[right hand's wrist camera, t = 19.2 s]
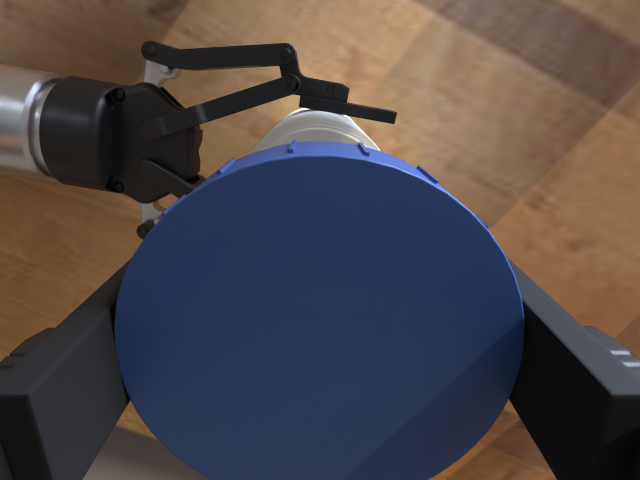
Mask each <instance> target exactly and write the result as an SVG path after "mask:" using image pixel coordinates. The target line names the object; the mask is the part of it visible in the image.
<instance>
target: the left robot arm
mask: <svg viewBox="0 0 640 480" xmlns="http://www.w3.org/2000/svg"><path fill="white" fill-rule="evenodd" d="M141 52H142V55H143V56H144V58H145V59H147V60H146V67H145V73H144V80H143V82H141V83H138V84H136V85H133V86H126V85H120V84H114V83H109V82H103V81H97V80H92V79H86V78H80V77H74V76H70V77H66V78H65V77H64V76H62V75H60V74H58V73H52V72H47V71H41V70H35V69H30V68H24V67H18V66H13V65H7V64H1V63H0V174H5V175H11V176H17V177H23V178H29V179H35V180H41V181H47V182H57V181H59V182H61V183H63V184H66V185H72V186H78V187H84V188H90V189H96V190H102V191H108V192H116V193H123V194H126V195H128V196H130V197H131V198H133V199H134V200H136V201H137V202H140V208H141V218H142V224H141V225H140V226H138V228H137V235H138V236H139V237H140V238H141V239H144V238H145V237H146V235H147V234H148V232H149V231H150V230H151V229H152V228H153V227H154V226H155V225H156V223H157V222H158V221H159V220H160V219H161V218H162V216H161V214H162V212H164V211H165V210H166V209H165V208H163V207H161V206H160V205H159V203H158V200H159V199H161V198H163V197H165V196H167V195H169V194H171V193H172V194H173V195H175V196H176V197H178V198H179V199H180V198H181V197H182V196H183V195H186V196H187V195H188V194H189V193H191V192H192V191H193V190H194V189H195V188H197V187H198V186H199V185H200V184H201V183H203V182H204V181H205V180H206V179H205V178H204V177H202V176H201V175H199V174H198V172H200V157H199V147H200V145H201V142H202V133H203V130H200V126H199V124H203V123H206V122H209V121H212V120H215V119H218V118H221V117H224V116H227V115H230V114H234V113H237V112H240V111H243V110H246V109H249V108H252V107H255V106H258V105H261V104H265V103H268V102H271V101H274V100H277V99H280V98H283V97H286V96H289V95H292V94H294V95H300V103H299V107H302V108H307V109H313V110H319V111H324V112H330V113H335V114H341V115H347V116H352V117H358V118H363V119H369V120H375V121H380V122H386V123H391V124H394V123H395V119H396V114H397V112H394V111H391V110H386V109H380V108H375V107H369V106H364V105H358V104H352V103H347V99H348V93H349V88H348V87H346V86H345V85H343V84H340V83H335V82H329V81H324V80H318V79H313V78H308V77H305V76H303V74H302V73H301V72H300V69H299V64H298V59H297V53H296V51H295V49H294V48H293V46H292V45H290V44H288V43H278V44H261V45H245V46H228V47H211V48H195V49H177V48H174V47H171V46H168V45H165V44H161V43H157V42H154V41H146V42H144V43H143V45H142V47H141ZM266 66H280V71H281V76H282V78H279V79H276V80H273V81H269V82H266V83H263V84H260V85H257V86H254V87H251V88H248V89H245V90H242V91H239V92H236V93H233V94H230V95H227V96H224V97H221V98H218V99H215V100H212V101H208V102H205V103H202V104H199V105H195V106H192V107H189V108H186V109H185V108H184V107H183V106H182V105H181V104H180V103H179V102H178V101H177V100H176V99H175V98H174V97H173V96H172V95H171V94H170V93H169V92H167V91H166V90H165V89H164V88H163V87H162V86H163V83H164V82H165V81H166V80H167V79H176V78H178V77H179V76H180V74H181V70H182V69H184V70H216V69H232V68H249V67H266Z"/></svg>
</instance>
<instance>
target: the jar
mask: <svg viewBox="0 0 640 480" xmlns="http://www.w3.org/2000/svg"><path fill="white" fill-rule="evenodd" d="M295 139H297V143H299V142H318V141H331V142H339V143H347V144H356V145H358V142H361V143H363V144H364V146H365V147H367V148H371V149H375V150H378V151H380V150H379V148H378V147H377V146H376V144H375V143H374V142H373V141H372V140H371V139H370V138H369V137H368V136H367V135H366V134H365V133H364V132H363V131H362V130H361V129H360V128H359V127H358V126H357V125H356V124H355V123H354V122H353V121H352V120H351V119H350V118H349V117H348V116H346V115H341V114H335V113H330V112H324V111H319V110H313V109H307V108H301V109H298V110H296V111H294V112H292V113H290V114H289V115H287V116H286V117H285V118H283V119H282V120H281V121H280V122H279V123H278V124H277V125H276V126H275V127H274V128H273V129H272V130H270V131H269V132H268V133H267V134H266V135H265V136H264V137H263V138H262V139H261V140H260V141H259V142H258V143H257V144H256V146H255V147H254V148H253V149H252V151H251V153H250V154H252V153H254V152H258V151H261V150H265V149H268V148H272V147H275V146H279V145H285V144H291V142H292V140H295ZM250 154H249V155H250Z"/></svg>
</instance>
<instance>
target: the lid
mask: <svg viewBox="0 0 640 480" xmlns="http://www.w3.org/2000/svg"><path fill="white" fill-rule="evenodd" d="M437 183H438V180H437V179H436V178H434V177H433V176H432V175H431V174H429V173H428V172H427V171H426V170H424V169H423V168H422V167H420V166H419V165H418V166H417V168H415V167H413V166H412V165H410V164H408V163H407V162H405V161H403V160H401V159H398V158H396V157H393V156H391V155H389V154H386V153H384V152H381V151H378V150H375V149H371V148H367V147H365V146H364V144H363V143H361V142H358V145H356V144H347V143H339V142H331V141H318V142H299V143H297V139H295V140H292V142H291V144H285V145H279V146H275V147H272V148H268V149H265V150H261V151H258V152H254V153H252V154H250V155H248V156H245V157H243V158H241V159H239V160H235V158H233V159H231V160H230V161H228V162H227V163H226V164H225V165H224V166H222V167H221V168H220V169H219V170H218V171H216V173H214V174H213V175H211V176H210V177H209V178H207V179H206V180H205V181H204V182H203V183H201V184H200V185H199V186H198V187H197V188H195V189H194V190H193V191H192V192H191V193H189V194H188V195H187V196H186V195H183V196H182V197H181V198H180V199H178V200H177V201H176V202H175V203H173V204H172V205H171V206H170V207H168V208H167V209H166V210H165V211H164V212H162V214H161V216H162V218H161V219H160V220H159V221H158V222H157V223H156V225H155V226H154V227H153V228H152V229H151V230H150V231H149V232H148V234H147V235H146V237H145V238H144V240H143V241H142V243H141V244H140V246H139V247H138V249H137V250H136V252H135V254H134V255H133V257H132V259H131V261H130V264H129V266H128V268H127V270H126V273H125V275H124V277H123V279H122V283H121V287H120V291H119V294H118V298H117V302H116V310H115V320H114V340H115V348H116V354H117V359H118V364H119V369H120V374H121V378H122V380H123V383H124V386H125V388H126V391H127V394H128V396H129V398H130V399H131V401H132V403H133V405H134V407H135V409H136V411H137V413H138V414H139V416H140V417H141V418H142V420H143V421H144V422H145V424H146V425H147V427H148V428H149V429H150V431H151V432H152V433H153V434H154V435H155V436H156V437H157V439H158V440H159V441H160V442H161V443H162V444H163V445H164V446H165V447H166V448H167V449H168V450H169V451H171V452H172V453H173V454H174V455H175V456H176V457H178V458H179V459H180V460H181V461H182V462H183V463H185V464H186V465H188V466H189V467H191V468H192V469H194V470H195V471H197V472H198V473H200V474H201V475H203V476H205V477H207V478H209V479H211V480H428V479H430V478H431V477H433V476H435V475H437V474H439V473H440V472H442V471H443V470H445V469H446V468H448V467H449V466H450V465H452V464H453V463H455V462H456V461H458V460H459V459H460V458H461V457H462V456H463V455H465V454H466V453H467V452H468V451H469V450H470V449H471V448H473V447H474V446H475V445H476V444H477V443H478V441H479V440H480V439H481V438H482V437H483V436H484V435H485V434H486V432H487V431H488V430H489V429H490V428H491V426H492V425H493V424H494V422H495V421H496V419H497V418H498V416H499V415H500V413H501V412H502V410H503V409H504V407H505V405H506V403H507V401H508V399H509V397H510V395H511V393H512V391H513V388H514V385H515V382H516V379H517V376H518V373H519V370H520V365H521V360H522V355H523V349H524V335H525V320H524V312H523V305H522V298H521V295H520V291H519V288H518V284H517V281H516V278H515V275H514V272H513V270H512V268H511V266H510V264H509V262H508V260H507V258H506V256H505V254H504V252H503V250H502V249H501V247H500V246H499V244H498V243H497V241H496V240H495V239H494V237H493V236H492V234H491V233H490V231H489V230H488V228H489V227H488V226H487V225H486V224H485V223H484V222H483V221H482V220H480V219H479V218H478V217H477V216H476V215H474V214H473V213H472V212H471V211H470V210H469V209H468V208H467V207H465V206H464V205H463V204H462V203H461V202H459V201H458V200H457V199H456V198H455V197H453V196H452V195H451V194H450V193H449V192H447V191H446V190H445V189H444V188H442V187H441V186H440V185H439V184H437Z"/></svg>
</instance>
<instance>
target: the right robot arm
mask: <svg viewBox="0 0 640 480" xmlns="http://www.w3.org/2000/svg"><path fill="white" fill-rule="evenodd" d="M506 258H507V257H506ZM131 259H132V258H131ZM131 259H130V260H129V261H128V262H127V263H126V264H125V265H124V266H122V267H121V268H120V269H119V270H118V271H117V272H116V273H115V274H114V275H113V276H112V277H110V278H109V279H108V280H107V281H106V282H105V283H104V284H103V285H102V286H101V287H99V288H98V289H97V290H96V291H95V292H94V293H93V294H92V295H91V296H90V297H89V298H87V299H86V300H85V301H84V302H83V303H82V304H81V305H80V306H79V307H78V308H77V309H75V310H74V311H73V312H72V313H71V314H70V315H69V316H68V317H67V318H66V319H65V320H63V321H62V322H61V323H60V324H59V325H58V326H57V327H56V328H47V329H45V330H43V331H41V332H39V333H38V334H36V335H34V336H32V337H30V338H28V339H26V340H25V341H24V342H23V343H22V344H20V345H19V346H18V347H17V348H16V349H15V350H13V351H12V352H11V353H10V356H6V357H5V358H4V359H3V360H2V361H1V362H0V480H82V479H83V478H84V476H85V474H86V473H87V471H88V469H89V468H90V466H91V464H92V463H93V461H94V459H95V458H96V456H97V454H98V453H99V451H100V449H101V448H102V446H103V444H104V443H105V441H106V440H107V438H108V436H109V434H110V433H111V431H112V429H113V428H114V426H115V425H116V423H117V421H118V420H119V418H120V416H121V415H122V413H123V411H124V410H125V408H126V406H127V405H128V403H129V401H130V400H131V399H130V398H129V396H128V394H127V391H126V388H125V386H124V383H123V380H122V378H121V374H120V369H119V364H118V359H117V354H116V348H115V340H114V320H115V310H116V302H117V298H118V294H119V291H120V287H121V283H122V279H123V277H124V275H125V273H126V270H127V268H128V266H129V264H130V261H131ZM507 260H508V262H509V264H510V266H511V268H512V270H513V272H514V275H515V278H516V281H517V284H518V288H519V291H520V295H521V298H522V305H523V312H524V320H525V335H524V349H523V355H522V360H521V365H520V370H519V373H518V376H517V379H516V382H515V385H514V388H513V391H512V393H511V395H510V397H509V400H510V402H511V403H512V405H513V407H514V408H515V410H516V412H517V413H518V415H519V417H520V418H521V420H522V422H523V423H524V425H525V427H526V428H527V430H528V432H529V433H530V435H531V437H532V438H533V440H534V442H535V443H536V445H537V447H538V448H539V450H540V452H541V453H542V455H543V457H544V458H545V460H546V462H547V463H548V465H549V467H550V468H551V470H552V472H553V473H554V475H555V477H556V478H557V480H640V360H639V359H638V358H637V357H636V356H634V355H631V354H630V351H629V350H627V349H626V348H625V347H624V346H623V345H622V344H620V343H619V342H618V341H617V340H616V339H615V338H613V337H611V336H609V335H607V334H605V333H603V332H602V331H600V330H598V329H596V328H594V327H592V326H582V325H581V324H579V323H578V322H577V321H576V320H575V319H574V318H573V317H572V316H571V315H570V314H569V313H567V312H566V311H565V310H564V309H563V308H562V307H561V306H560V305H559V304H558V303H557V302H555V301H554V300H553V299H552V298H551V297H550V296H549V295H548V294H547V293H546V292H545V291H543V290H542V289H541V288H540V287H539V286H538V285H537V284H536V283H535V282H534V281H533V280H531V279H530V278H529V277H528V276H527V275H526V274H525V273H524V272H523V271H522V270H521V269H519V268H518V267H517V266H516V265H515V264H514V263H513V262H512V261H511V260H510V259H509V258H507Z"/></svg>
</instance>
